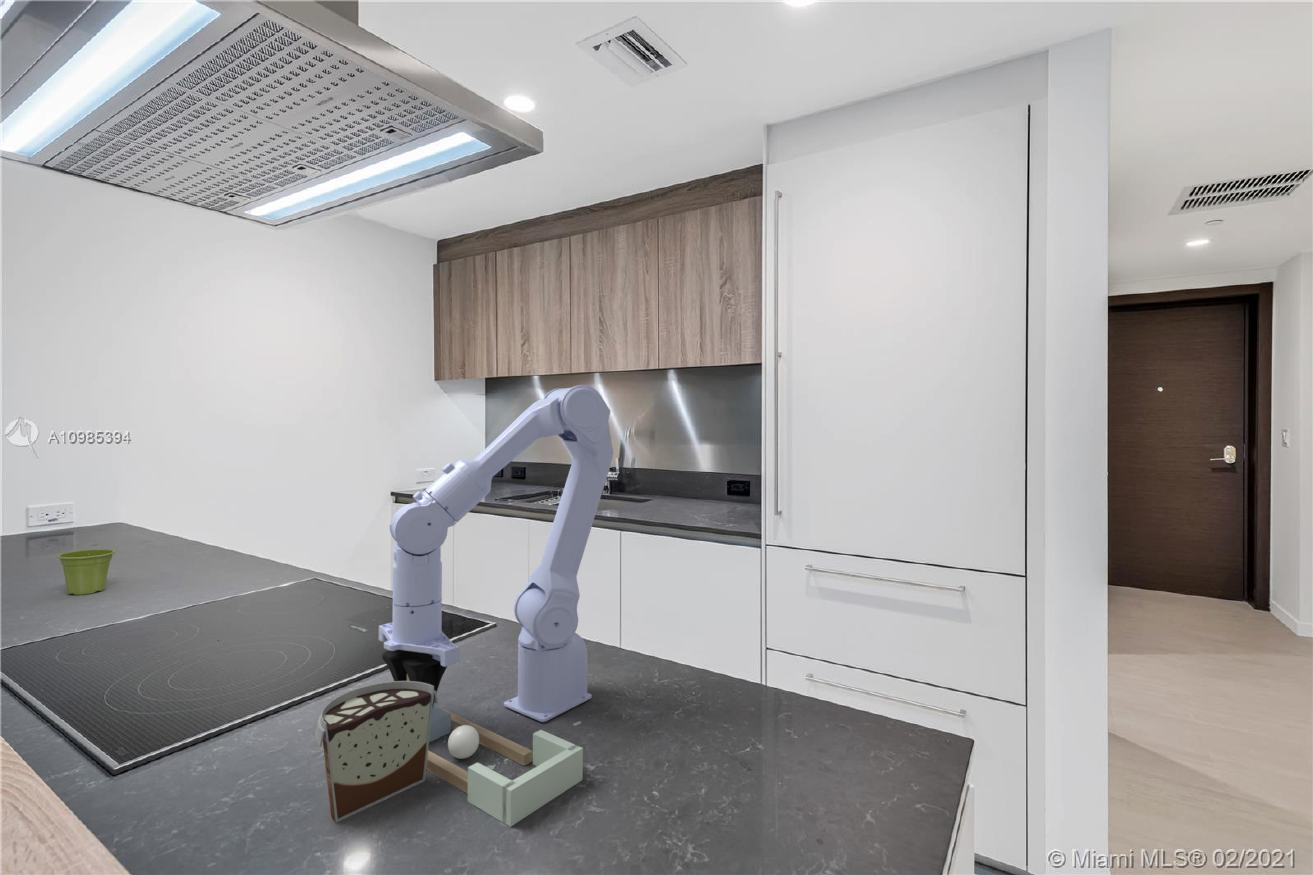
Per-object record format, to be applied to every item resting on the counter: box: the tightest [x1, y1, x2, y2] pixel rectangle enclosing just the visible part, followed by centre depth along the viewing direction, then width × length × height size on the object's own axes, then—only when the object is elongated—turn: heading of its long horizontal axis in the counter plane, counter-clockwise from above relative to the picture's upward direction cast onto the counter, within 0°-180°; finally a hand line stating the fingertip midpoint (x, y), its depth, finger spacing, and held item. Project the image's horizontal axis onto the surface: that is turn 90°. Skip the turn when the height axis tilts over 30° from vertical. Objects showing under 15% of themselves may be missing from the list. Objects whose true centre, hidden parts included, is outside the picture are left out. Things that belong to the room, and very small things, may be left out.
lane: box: [426, 706, 533, 795], centre depth 73 cm, size 8×18×1 cm, turn 54°
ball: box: [447, 725, 479, 760], centre depth 72 cm, size 4×4×4 cm
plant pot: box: [57, 548, 116, 596], centre depth 138 cm, size 9×9×9 cm
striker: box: [407, 675, 452, 743], centre depth 77 cm, size 5×5×8 cm
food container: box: [314, 680, 439, 823], centre depth 65 cm, size 12×6×10 cm, turn 141°
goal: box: [467, 729, 584, 828], centre depth 65 cm, size 10×7×4 cm, turn 143°
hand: (416, 708), depth 77 cm, fingers closed on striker, 2 cm apart
